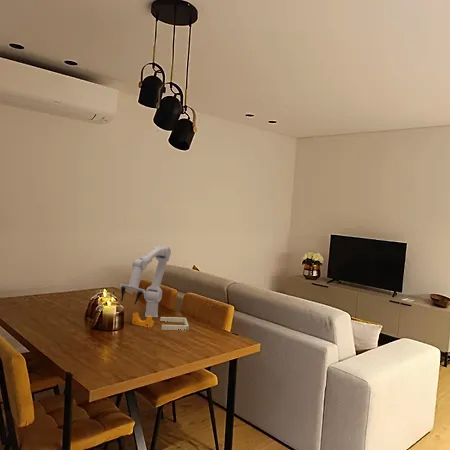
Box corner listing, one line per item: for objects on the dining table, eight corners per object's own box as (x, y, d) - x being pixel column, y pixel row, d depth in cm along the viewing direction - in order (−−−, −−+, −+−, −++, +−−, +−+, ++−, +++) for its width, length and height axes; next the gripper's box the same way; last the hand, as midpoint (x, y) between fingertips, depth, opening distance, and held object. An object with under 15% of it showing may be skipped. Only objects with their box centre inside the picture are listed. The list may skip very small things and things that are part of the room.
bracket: (160, 321, 258) (160, 316, 258) (185, 321, 261) (185, 317, 261) (161, 329, 241) (162, 325, 241) (188, 330, 244) (188, 326, 244)
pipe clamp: (153, 326, 246) (154, 315, 246) (148, 328, 242) (149, 316, 242) (136, 322, 252) (137, 311, 252) (132, 324, 248) (132, 313, 248)
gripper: (123, 275, 242) (115, 298, 238) (148, 281, 245) (141, 305, 241) (122, 276, 249) (115, 299, 245) (147, 283, 251) (140, 306, 247)
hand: (128, 302), depth 243 cm, fingers open, 7 cm apart
